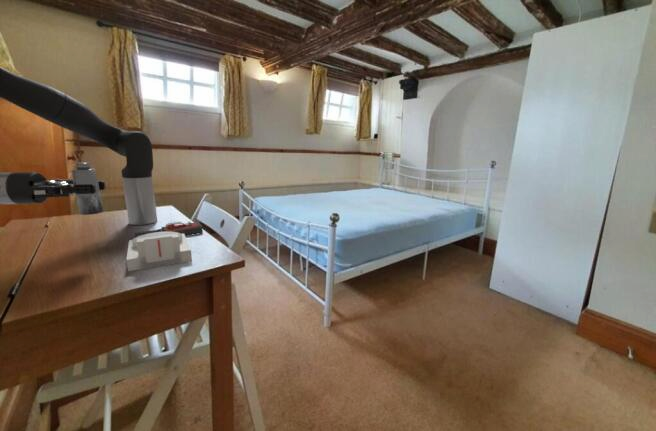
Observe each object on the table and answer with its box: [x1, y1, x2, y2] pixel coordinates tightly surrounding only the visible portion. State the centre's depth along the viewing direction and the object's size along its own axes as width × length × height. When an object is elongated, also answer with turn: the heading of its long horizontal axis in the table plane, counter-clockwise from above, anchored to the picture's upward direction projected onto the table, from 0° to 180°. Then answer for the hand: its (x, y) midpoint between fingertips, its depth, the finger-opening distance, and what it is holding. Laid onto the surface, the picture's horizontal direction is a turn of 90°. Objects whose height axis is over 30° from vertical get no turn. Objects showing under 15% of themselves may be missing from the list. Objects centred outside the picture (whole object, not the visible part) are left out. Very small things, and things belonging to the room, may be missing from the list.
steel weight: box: [70, 161, 104, 216], centre depth 74 cm, size 5×5×13 cm
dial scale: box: [126, 232, 193, 272], centre depth 79 cm, size 17×14×8 cm
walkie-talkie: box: [134, 220, 203, 237], centre depth 97 cm, size 9×4×20 cm
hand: (99, 187), depth 74 cm, fingers closed on steel weight, 4 cm apart
